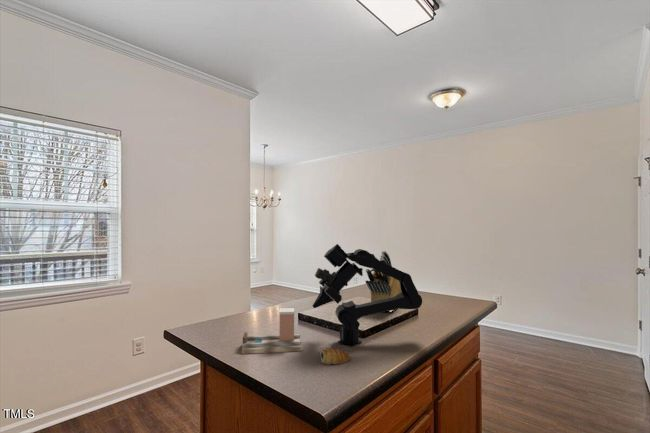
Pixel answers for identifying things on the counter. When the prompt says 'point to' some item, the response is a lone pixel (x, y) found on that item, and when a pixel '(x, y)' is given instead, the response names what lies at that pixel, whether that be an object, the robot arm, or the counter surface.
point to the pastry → (334, 356)
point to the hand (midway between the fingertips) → (313, 307)
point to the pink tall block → (286, 324)
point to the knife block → (382, 282)
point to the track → (269, 344)
